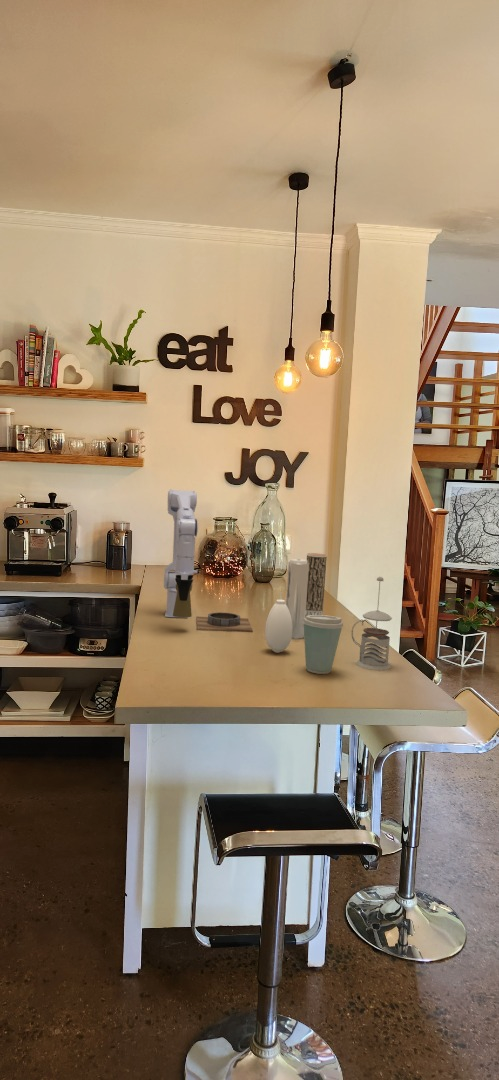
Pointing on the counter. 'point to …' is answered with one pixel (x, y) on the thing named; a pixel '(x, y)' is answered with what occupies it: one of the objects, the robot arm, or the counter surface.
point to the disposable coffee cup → (321, 641)
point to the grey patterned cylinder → (315, 583)
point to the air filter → (297, 595)
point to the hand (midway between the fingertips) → (183, 598)
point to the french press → (374, 641)
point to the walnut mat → (243, 627)
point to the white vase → (278, 626)
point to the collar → (223, 619)
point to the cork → (182, 605)
